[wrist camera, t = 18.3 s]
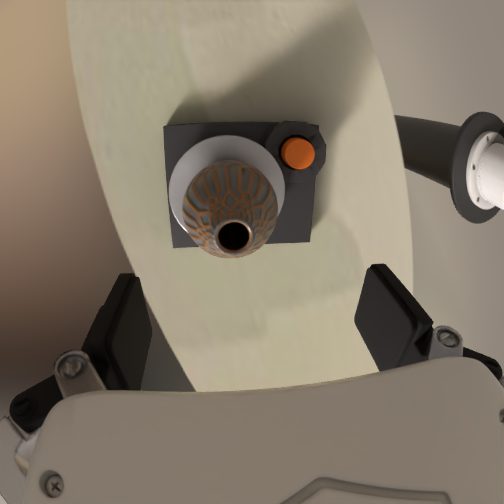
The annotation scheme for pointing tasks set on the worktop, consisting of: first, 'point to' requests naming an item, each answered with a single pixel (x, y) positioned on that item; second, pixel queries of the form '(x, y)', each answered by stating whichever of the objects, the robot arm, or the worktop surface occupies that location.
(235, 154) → the pan
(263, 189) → the vase
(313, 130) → the scale
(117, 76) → the worktop surface
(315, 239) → the worktop surface
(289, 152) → the tare button
